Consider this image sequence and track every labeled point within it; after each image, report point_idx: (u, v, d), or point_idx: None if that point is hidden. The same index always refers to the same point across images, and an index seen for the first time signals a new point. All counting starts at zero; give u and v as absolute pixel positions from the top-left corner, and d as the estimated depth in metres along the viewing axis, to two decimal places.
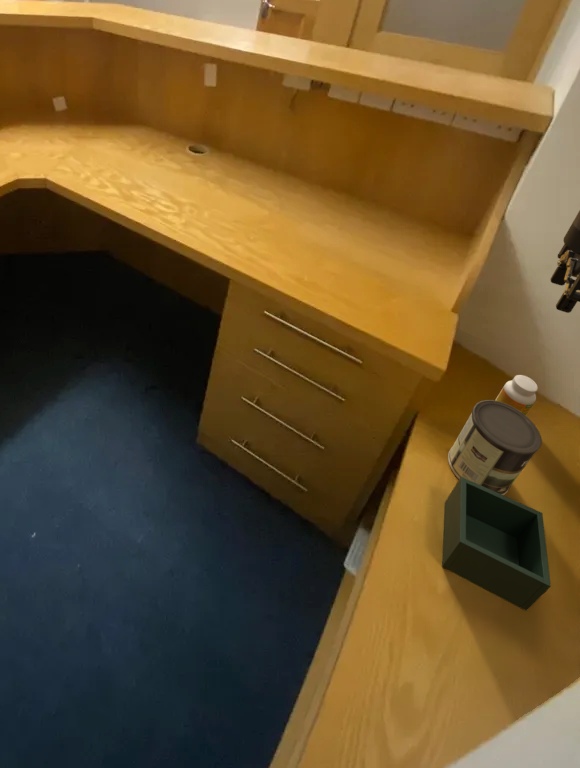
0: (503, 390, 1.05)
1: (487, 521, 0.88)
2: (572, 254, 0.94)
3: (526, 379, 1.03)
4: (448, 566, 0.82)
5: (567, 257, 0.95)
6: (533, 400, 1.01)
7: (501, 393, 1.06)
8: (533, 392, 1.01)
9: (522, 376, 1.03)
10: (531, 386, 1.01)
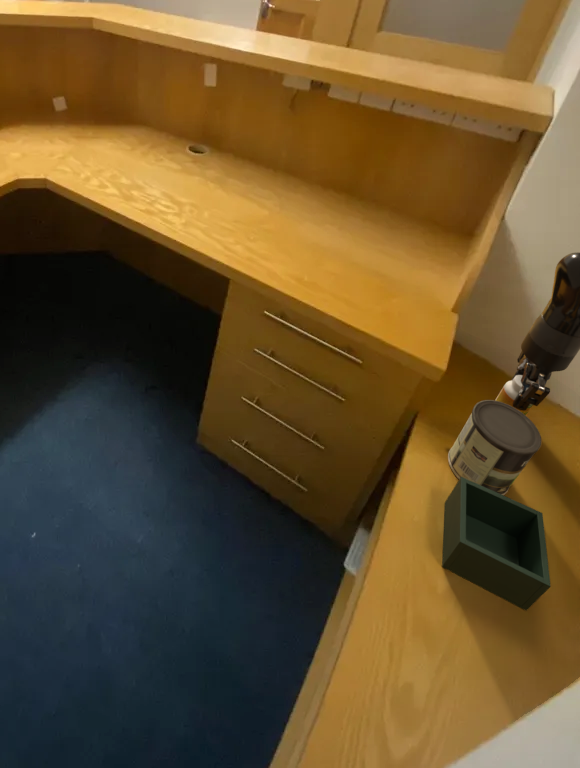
0: (503, 390, 1.05)
1: (487, 521, 0.88)
2: None
3: None
4: (448, 566, 0.82)
5: (525, 360, 1.01)
6: None
7: (501, 393, 1.06)
8: None
9: None
10: None
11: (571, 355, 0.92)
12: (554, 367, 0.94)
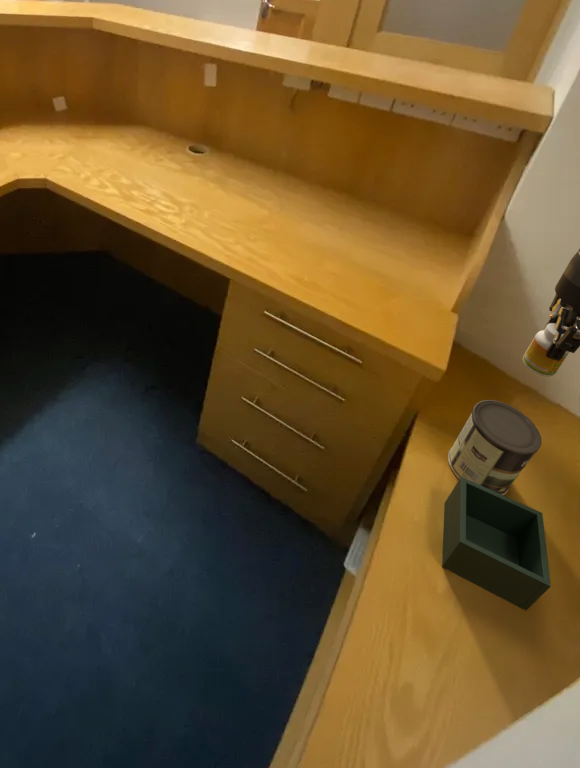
0: (534, 340, 0.97)
1: (487, 521, 0.88)
2: (564, 303, 0.92)
3: None
4: (448, 566, 0.82)
5: (559, 306, 0.93)
6: None
7: (532, 344, 0.98)
8: None
9: (555, 324, 0.96)
10: None
11: None
12: None
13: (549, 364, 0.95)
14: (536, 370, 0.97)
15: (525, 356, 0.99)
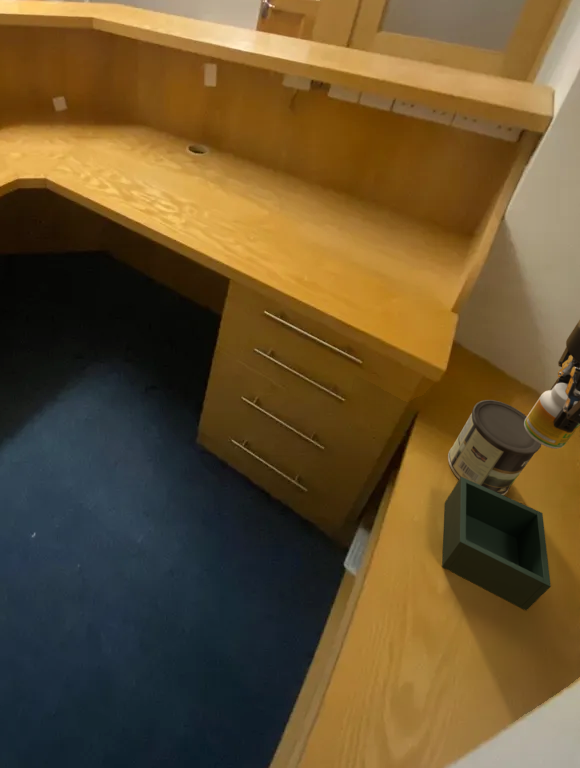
0: (539, 403, 0.78)
1: (487, 521, 0.88)
2: None
3: None
4: (448, 566, 0.82)
5: None
6: None
7: (536, 407, 0.78)
8: None
9: (565, 385, 0.76)
10: None
11: None
12: None
13: (557, 435, 0.76)
14: (541, 440, 0.78)
15: (527, 421, 0.80)
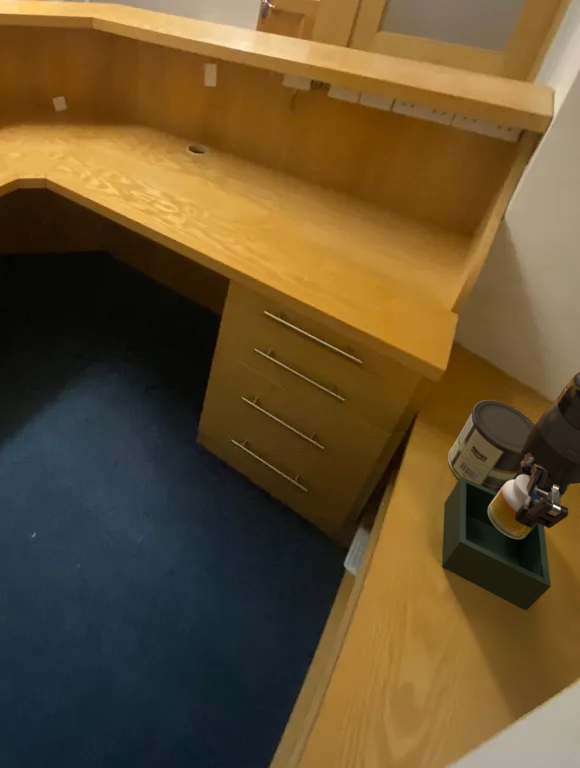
0: (501, 494, 0.77)
1: (487, 521, 0.88)
2: None
3: None
4: (448, 566, 0.82)
5: (532, 458, 0.74)
6: None
7: (498, 497, 0.78)
8: None
9: (527, 477, 0.76)
10: None
11: None
12: (574, 478, 0.66)
13: (519, 527, 0.76)
14: (503, 530, 0.77)
15: (490, 509, 0.79)
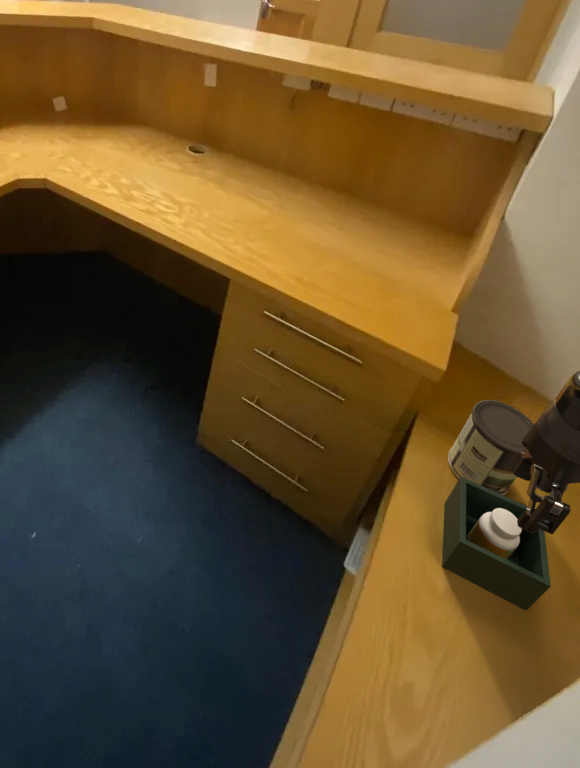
0: (478, 525, 0.82)
1: None
2: None
3: (507, 515, 0.80)
4: (448, 566, 0.82)
5: (531, 458, 0.74)
6: (516, 544, 0.79)
7: (476, 528, 0.83)
8: (516, 536, 0.78)
9: (502, 510, 0.81)
10: (513, 527, 0.79)
11: None
12: (573, 478, 0.66)
13: None
14: None
15: (468, 538, 0.85)
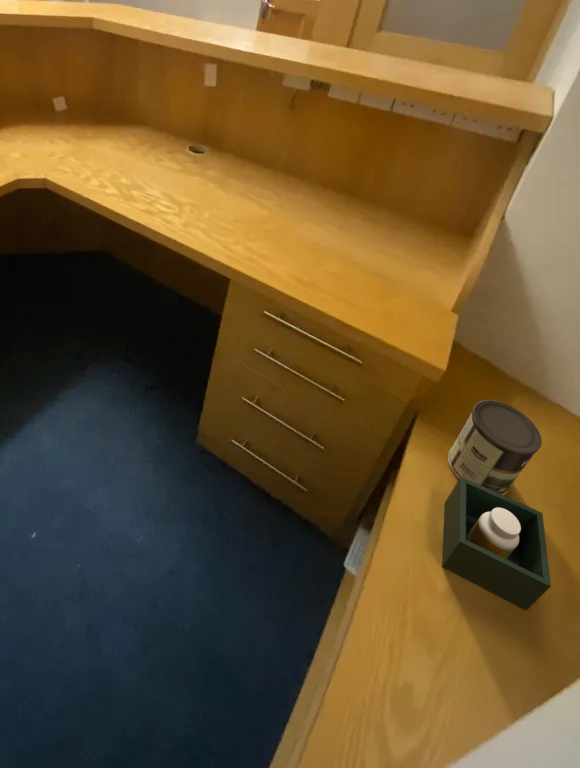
0: (478, 525, 0.82)
1: None
2: None
3: (506, 514, 0.80)
4: (448, 566, 0.82)
5: None
6: (515, 544, 0.79)
7: (475, 528, 0.83)
8: (515, 535, 0.78)
9: (501, 510, 0.81)
10: (512, 526, 0.79)
11: None
12: None
13: None
14: None
15: (468, 538, 0.85)
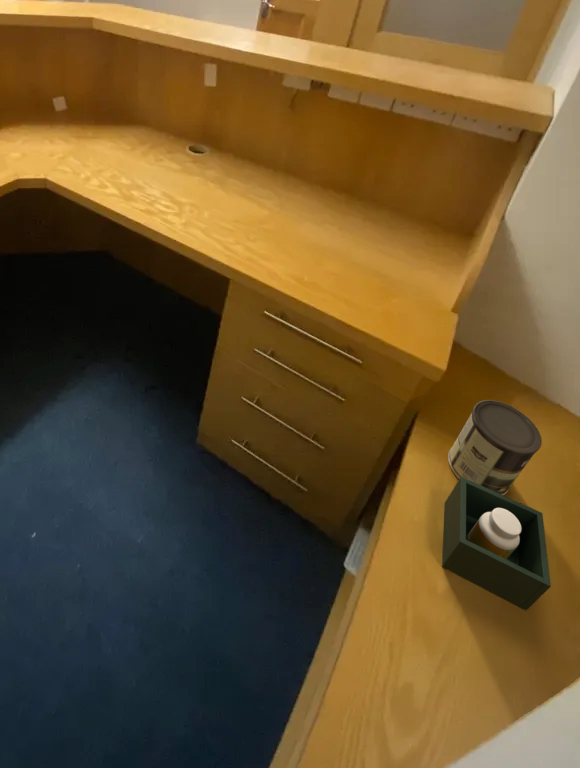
0: (478, 525, 0.82)
1: None
2: None
3: (507, 515, 0.80)
4: (448, 566, 0.82)
5: None
6: (515, 544, 0.79)
7: (476, 528, 0.83)
8: (515, 535, 0.78)
9: (502, 510, 0.81)
10: (512, 527, 0.79)
11: None
12: None
13: None
14: None
15: (468, 538, 0.85)
